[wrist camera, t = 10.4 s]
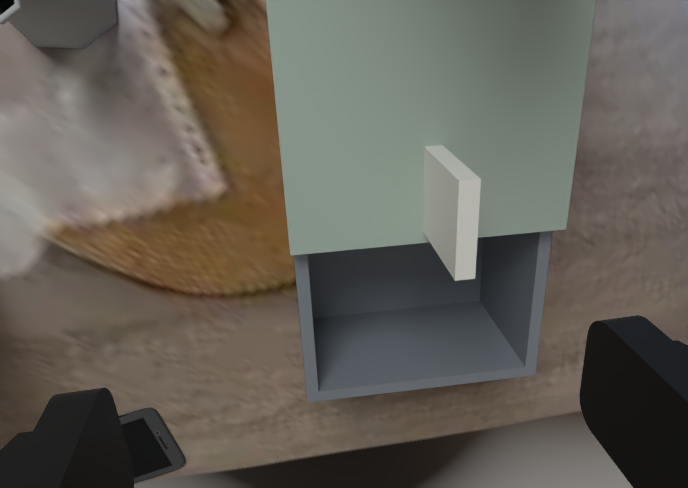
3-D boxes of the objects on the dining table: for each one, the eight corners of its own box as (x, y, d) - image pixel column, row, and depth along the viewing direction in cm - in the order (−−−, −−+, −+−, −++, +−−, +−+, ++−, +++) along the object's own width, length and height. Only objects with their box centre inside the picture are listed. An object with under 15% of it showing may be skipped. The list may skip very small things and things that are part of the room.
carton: (497, 117, 41) (562, 152, 32) (485, 303, 48) (535, 375, 39) (282, 133, 40) (286, 175, 31) (299, 322, 47) (307, 402, 38)
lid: (598, -88, 27) (696, -111, 21) (559, 224, 34) (624, 275, 28) (258, -75, 26) (255, -96, 19) (289, 249, 32) (295, 310, 26)
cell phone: (4, 451, 49) (0, 458, 48) (154, 401, 49) (153, 407, 48) (47, 506, 52) (45, 513, 51) (189, 460, 52) (188, 466, 51)
